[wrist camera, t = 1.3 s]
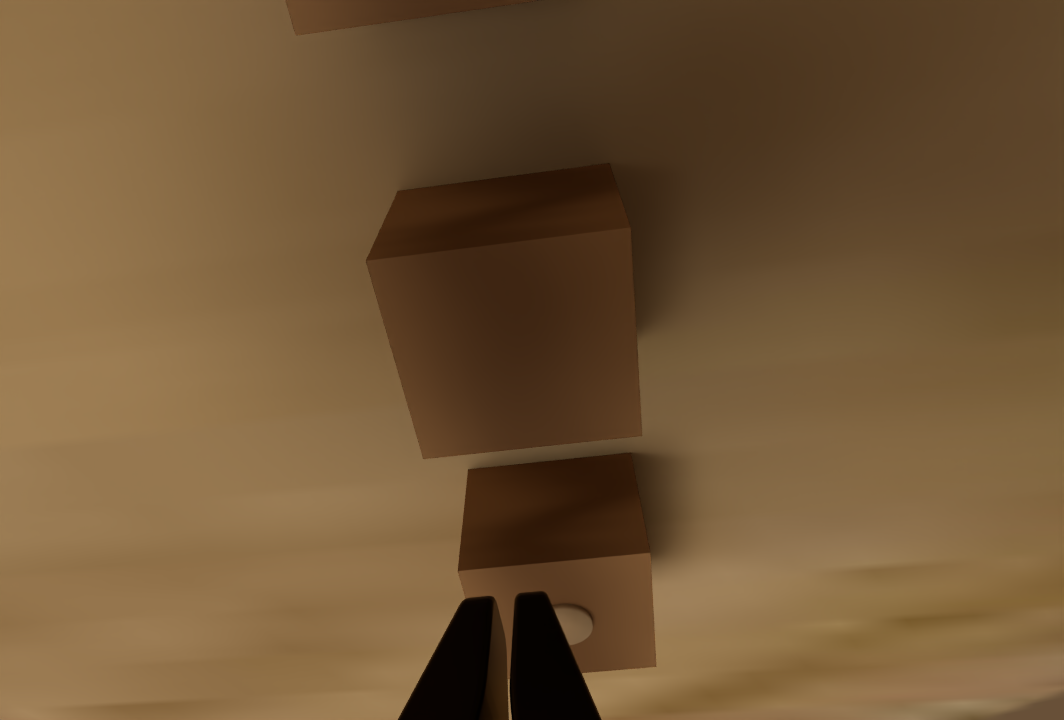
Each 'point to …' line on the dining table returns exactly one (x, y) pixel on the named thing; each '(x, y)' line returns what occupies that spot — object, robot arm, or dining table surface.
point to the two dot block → (374, 11)
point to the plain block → (512, 311)
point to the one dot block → (565, 553)
